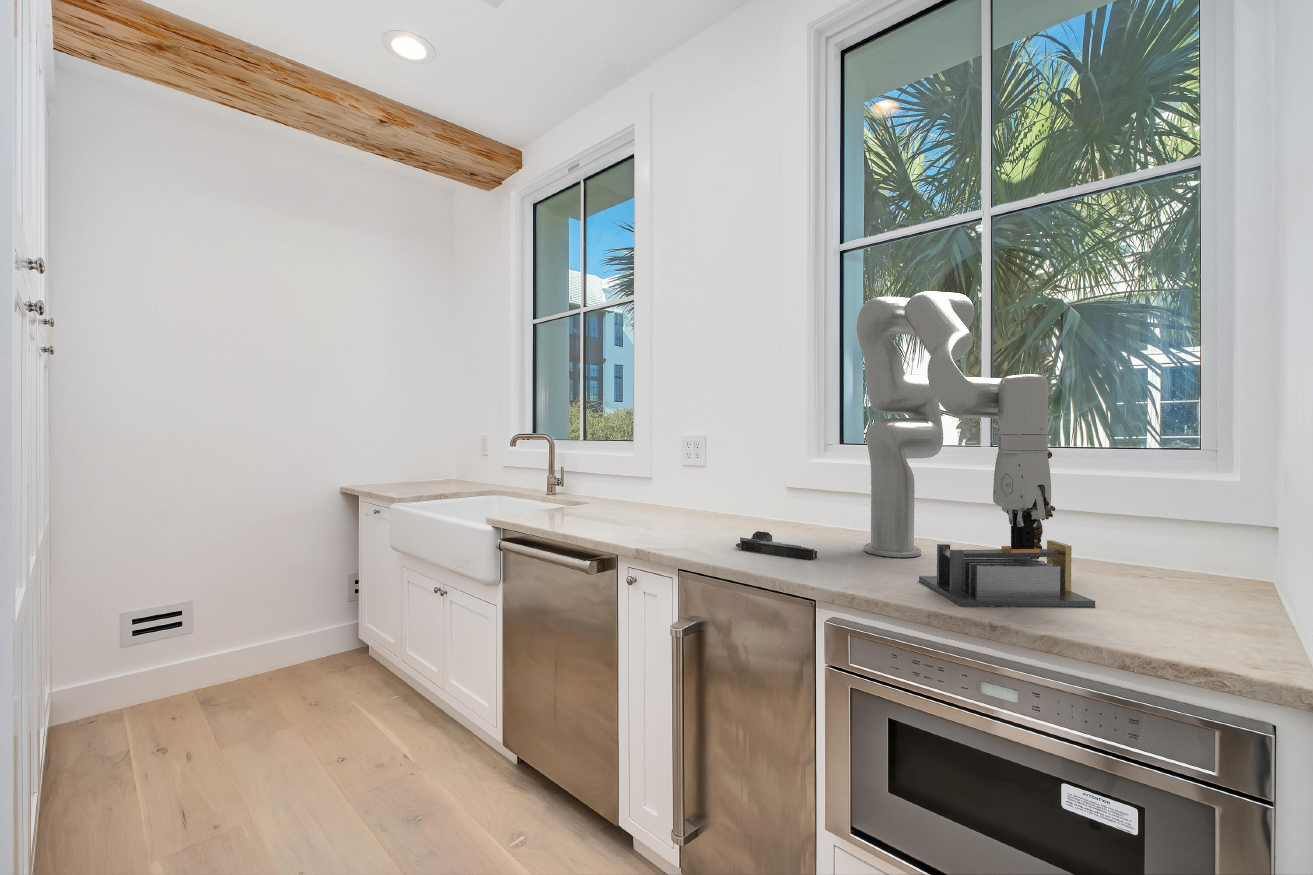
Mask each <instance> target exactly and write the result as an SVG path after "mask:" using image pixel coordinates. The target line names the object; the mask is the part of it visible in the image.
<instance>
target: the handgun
mask: <svg viewBox="0 0 1313 875" xmlns="http://www.w3.org/2000/svg"><path fill="white" fill-rule="evenodd" d="M735 547H736V548H739V549H740V550H741V551H745V552H751V553H759V554H764V555H770V556H771V555H772V556H778V557H786V558H791V559H792V558H793V559H799V560H805V561H815V560H816V559H817V558H818V550H815V548H809V547H804V546H801V545H798V544H789V543H784V542H778V541H773V535H772V534H771V533H770V532H768V531H761V530H760V531H759V530H757V531H755V532H754V533H753V534H752V536H751V537H750V538H748V537H741V536H740V537H739V542H738V543H737V542H736V543H735Z"/></svg>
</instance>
